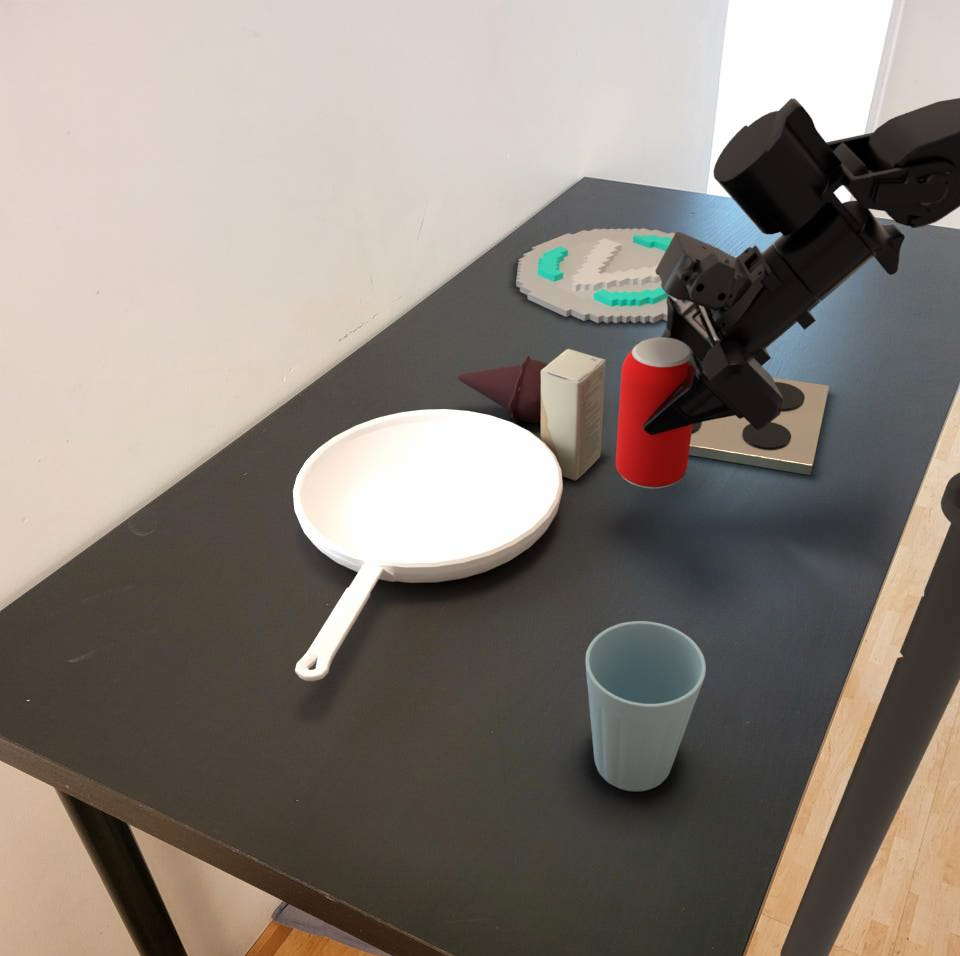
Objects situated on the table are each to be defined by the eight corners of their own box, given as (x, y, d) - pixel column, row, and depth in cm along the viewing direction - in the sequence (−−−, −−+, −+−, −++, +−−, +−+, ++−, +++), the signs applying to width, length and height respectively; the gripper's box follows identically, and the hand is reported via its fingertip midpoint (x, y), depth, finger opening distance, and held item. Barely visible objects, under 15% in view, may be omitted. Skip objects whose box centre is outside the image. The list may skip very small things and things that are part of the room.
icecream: (445, 376, 95) (588, 405, 93) (467, 327, 99) (605, 354, 96) (449, 424, 101) (583, 452, 99) (469, 376, 105) (600, 403, 102)
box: (566, 445, 97) (569, 345, 89) (602, 457, 95) (608, 357, 87) (538, 469, 94) (539, 369, 86) (574, 483, 92) (579, 381, 84)
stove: (827, 395, 102) (829, 383, 101) (810, 475, 92) (813, 463, 91) (664, 371, 107) (665, 360, 106) (630, 445, 97) (631, 434, 96)
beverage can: (687, 496, 81) (704, 369, 72) (614, 494, 81) (623, 368, 73) (684, 456, 85) (699, 332, 76) (615, 455, 86) (623, 331, 77)
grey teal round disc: (475, 275, 128) (475, 263, 126) (618, 218, 140) (618, 207, 139) (627, 345, 112) (628, 332, 111) (772, 274, 124) (774, 262, 123)
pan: (588, 460, 95) (590, 423, 92) (469, 750, 69) (466, 712, 66) (361, 427, 101) (356, 391, 98) (172, 682, 75) (157, 644, 72)
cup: (706, 752, 68) (727, 651, 61) (652, 823, 64) (667, 724, 56) (617, 706, 71) (626, 605, 64) (560, 771, 67) (563, 671, 60)
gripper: (704, 155, 73) (562, 300, 81) (765, 251, 60) (587, 413, 68) (786, 250, 79) (645, 377, 87) (858, 357, 65) (684, 496, 73)
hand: (640, 410), depth 78 cm, fingers closed on beverage can, 6 cm apart
